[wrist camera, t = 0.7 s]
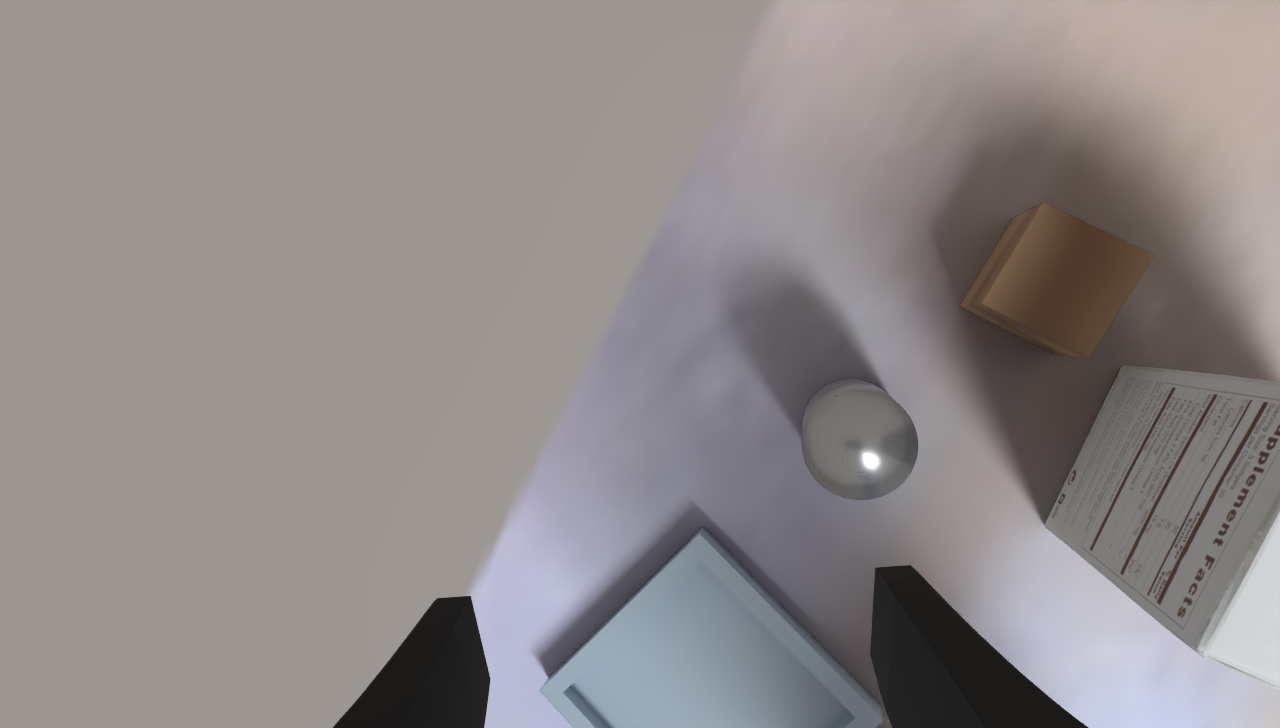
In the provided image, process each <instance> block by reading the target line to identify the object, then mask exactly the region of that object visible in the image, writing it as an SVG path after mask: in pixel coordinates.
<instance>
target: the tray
mask: <svg viewBox="0 0 1280 728" xmlns="http://www.w3.org/2000/svg"><path fill="white" fill-rule="evenodd" d="M539 691H540V692H541V693H542V694H543V695H544V696H545V698H546V699H547V700H548V701H549V702H550V703H551V704H552V705H553V706H554V707H555V708H556V709H557V711H558V712H559V713H560V714H561V715H562V716H563V717H564V718H565V719H566V720H567V721H568V723H569V724H570V725H571V726H572V727H573V728H876V727H877V726H878V725H880V724H881V723H882V722H883V721H884V717H883V712H882V707H881V705H880V704H879V703H878V702H877V701H876V700H875V699H874V698H873V697H872V696H871V695H870V694H869V693H868V692H867V691H866V690H865V689H864V688H863V687H862V686H861V685H860V684H859V683H858V682H857V681H856V680H855V679H854V678H853V677H852V676H851V675H850V674H849V673H848V672H847V671H846V670H845V669H844V668H843V667H842V666H841V665H840V664H839V663H838V662H837V661H836V660H835V659H834V658H833V657H832V656H831V655H830V654H829V653H828V652H827V651H826V650H825V649H824V648H823V647H822V646H821V645H820V644H819V643H818V642H817V641H816V640H815V639H814V638H813V637H812V636H811V635H810V634H809V633H808V632H807V631H806V630H805V629H804V628H803V627H802V626H801V625H800V624H799V623H798V622H797V621H796V620H795V619H794V618H793V617H792V616H791V615H790V614H789V613H788V612H787V611H786V610H785V609H784V608H783V607H782V605H781V604H780V603H779V602H778V601H777V600H776V599H775V598H774V597H773V596H772V595H771V594H770V593H769V592H768V591H767V590H766V589H765V588H764V587H763V586H762V585H761V584H760V583H759V582H758V581H757V580H756V579H755V578H754V577H753V576H752V575H751V574H750V573H749V572H748V571H747V570H746V569H745V568H744V567H743V566H742V565H741V564H740V563H739V562H738V561H737V560H736V559H735V558H734V557H733V556H732V555H731V554H730V553H729V552H728V551H727V550H726V549H725V548H724V547H723V546H722V545H721V544H720V543H719V542H718V541H717V540H716V539H715V538H714V537H713V536H712V535H711V534H710V533H709V532H708V531H707V530H706V529H705V528H704V527H702V528H701V529H700V530H699V531H698V532H697V533H696V534H695V535H694V536H693V537H692V538H691V539H690V540H689V541H688V542H687V543H686V544H685V545H684V546H683V547H682V548H681V549H680V550H679V551H678V552H677V553H676V554H675V555H674V556H673V557H672V558H671V559H670V560H669V561H668V562H667V563H666V564H665V565H664V566H663V567H662V568H661V569H660V570H659V571H657V572H656V573H655V574H654V575H653V576H652V577H651V578H650V579H649V580H648V581H647V582H646V583H645V584H644V585H643V586H642V587H641V588H640V589H639V590H638V591H637V592H636V593H635V594H634V595H633V596H632V597H631V598H630V599H629V600H628V601H627V602H626V603H625V604H624V605H623V606H622V607H621V608H620V609H619V610H618V611H617V612H616V613H615V614H614V615H613V616H612V617H611V618H609V619H608V620H607V621H606V622H605V623H604V624H603V625H602V626H601V627H600V628H599V629H598V630H597V631H596V632H595V633H594V634H593V635H592V636H591V637H590V638H589V639H588V640H587V641H586V642H585V643H584V644H583V645H582V646H581V647H580V648H579V649H578V650H577V651H576V652H575V653H574V654H573V655H572V656H571V657H570V658H569V659H568V660H567V661H566V662H565V663H564V664H563V665H562V666H560V667H559V668H558V669H557V670H556V671H555V672H554V673H553V674H552V675H551V676H550V677H549V678H548V679H547V681H546V682H545V684H544V685H543V686H542V688H541V689H540V690H539Z"/></svg>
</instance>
